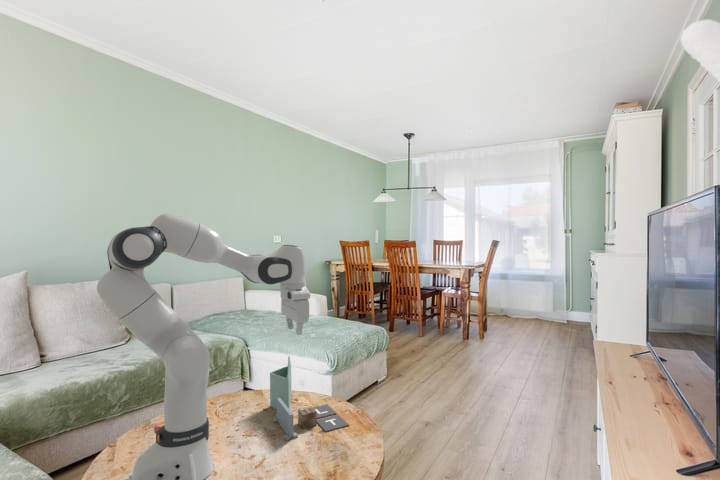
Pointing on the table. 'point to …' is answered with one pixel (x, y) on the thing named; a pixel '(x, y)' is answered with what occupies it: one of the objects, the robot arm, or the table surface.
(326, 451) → the table surface
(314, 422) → the cube
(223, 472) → the table surface
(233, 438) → the table surface
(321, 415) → the pad
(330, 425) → the pad
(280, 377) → the planter
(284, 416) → the screen
